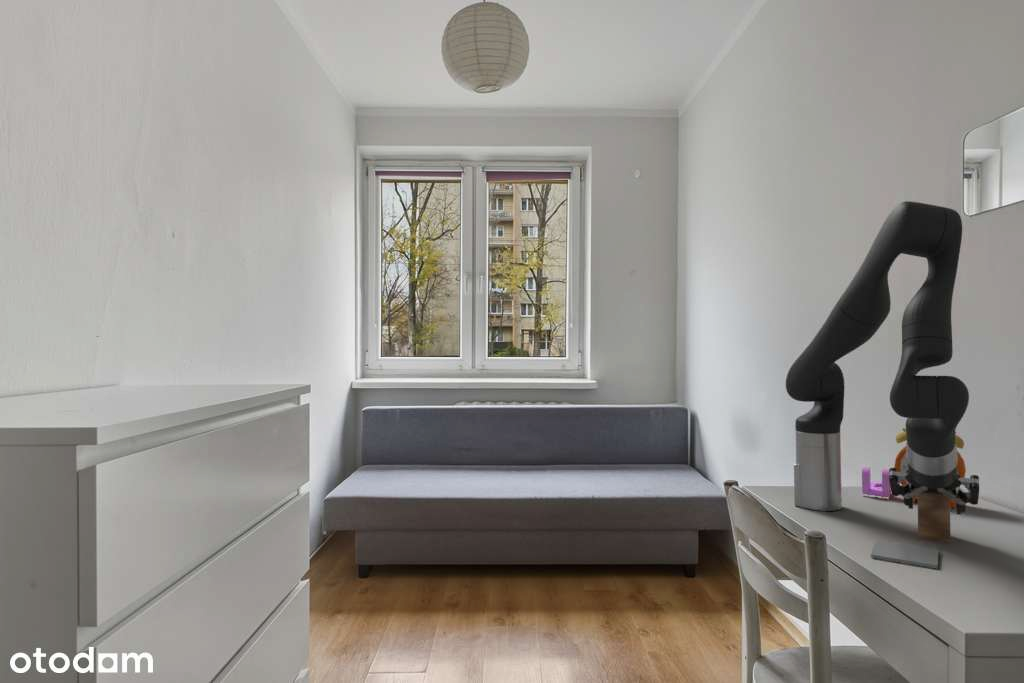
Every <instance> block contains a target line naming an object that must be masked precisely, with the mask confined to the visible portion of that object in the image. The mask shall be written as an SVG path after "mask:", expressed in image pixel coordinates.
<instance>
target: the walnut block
mask: <svg viewBox="0 0 1024 683" xmlns="http://www.w3.org/2000/svg"><path fill="white" fill-rule="evenodd" d="M917 536H918V539H921V540H928V541H930V540H931V541H936V542H943V543H949V544H950V543H951V538H952V537H951V508H950V499H949V498H948V497H946V496H945V495H944V494H936V493H925V492H922V493H920V494H919V495H918V497H917Z"/></svg>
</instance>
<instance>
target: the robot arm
mask: <svg viewBox="0 0 1024 683" xmlns="http://www.w3.org/2000/svg"><path fill="white" fill-rule="evenodd" d="M962 237H963V222H962V217H961V215H960V213H959V212H958V211H956V210H955V209H953V208H949V207H945V206H940V205H935V204H930V203H929V204H928V203H923V202H918V201H909V200H908V201H907V200H906V201H902V202H900V203H899V204H897V205H896V206H895V207H894V208H893V209H892V210H891V211H890V212H889V214H888V215H887V217H886V218H885V220H884V222H883V223H882V226H881V227H880V229H879V231H878V233H877V234H876V237H875V238H874V240H873V242H872V243H871V244H872V245H871V246H870V249H869V251H868V252H867V254H866V256H865V258H864V260H863V262H862V263H861V265H860V267H859V268H858V270H857V272H856V273H855V275H854V276H853V279H852V280H851V281H850V282H849V284H848V286H847V287H846V289H845V290H844V292H843V293H842V295H840V297H839V298H838V300H837V302H836V303H835V304H834V307H833V308H832V310H831V311H830V313H829V314H828V316H827V318H826V320H825V322H824V323H823V324H822V325H821V328H820V329H819V330H818V332H817V333H816V335H815V336H814V338H813V339H812V340H811V342H809V344H808V346H807V347H806V348H805V349H804V350H803V352H802V353H801V354H800V355H799V356H797V359H796V360H795V361H794V362H793V363H792V365H791V366H790V368H789V369H788V372H787V374H786V379H785V390H786V392H787V394H788V395H789V397H790V398H791V399H793V400H795V401H798V402H804V403H806V402H807V403H808V402H810V403H812V402H814V403H813V405H812V408H811V409H810V410H809V411H807V412H806V413H804V414H803V415H799V416H798V417H797V418H796V419H795V424H794V426H795V427H794V428H795V463H794V465H793V478H794V479H793V482H794V483H793V484H794V485H793V486H794V488H793V489H794V491H793V492H794V494H793V495H794V506H795V507H796V506H797V507H801V508H804V509H809V510H813V511H823V512H824V511H825V512H831V511H832V512H833V511H839V510H841V509H842V504H843V503H842V502H843V501H842V500H843V499H842V497H843V496H842V455H841V454H842V453H841V452H842V451H841V450H842V449H841V448H842V447H841V425H842V422H843V419H844V407H845V406H844V405H845V403H844V402H845V378H844V373H843V371H842V369H841V367H840V366H839V365H838V364H837V363H836V362H837V361H838V360H840V359H842V358H843V357H844V356H847V355H849V354H850V353H852V352H854V351H855V350H857V349H858V348H860V347H861V346H863V345H864V344H865V343H867V342H868V341H870V339H871V338H872V337H873V336H874V335H875V334H876V333H877V332H878V331H879V329H880V328H881V326H882V325H883V323H884V322H885V320H886V319H887V317H888V316H889V314H890V311H891V293H890V287H889V271H890V270H891V267H892V266H893V263H894V262H895V261H896V259H897V258H898V256H900V255H906V256H907V255H909V256H913V257H920V258H924V259H925V258H926V261H927V269H928V271H927V276H926V277H925V280H924V282H923V283H922V285H921V286H920V288H919V289H918V290H917V291H916V293H915V294H914V295H913V296H912V298H911V299H910V301H909V302H908V304H907V305H906V307H905V309H904V312H903V314H902V321H901V356H900V360H899V361H900V362H899V366H898V370H897V372H896V375H895V377H894V381H893V384H892V386H891V389H890V392H889V403H890V406H891V409H892V410H893V411H894V413H895V414H896V415H898V416H899V417H902V418H906V420H905V430H906V437H907V440H906V443H905V446H906V459H907V467H908V470H907V471H906V472H897V469H896V468H894V467H890V468H889V469H890V471H889V482H890V487H891V492H892V494H891V496H895V497H898V496H901V497H902V498H903V500H904V501H903V504H904V505H905V506H907V507H908V509H912V510H913V509H914V503H913V496H917V495H919V494H920V493H922V492H925V493H936V494H944V495H945V496H946V497H948V498H949V499H950V500H954V501H955V502H956V508H955V510H956V515H960V516H961V515H962V513H965V512H966V509H967V508H966V504H971V505H973V506H974V505H978V504H979V495H980V476H978V475H976V474H972V475H970V478H969V477H968V478H967V477H964V478H961V477H960V475H958V457H957V451H958V447H956V444H955V432H956V429H957V426H958V425H959V423H960V422H961V420H962V419H963V417H964V415H965V413H966V412H967V408H968V405H969V402H970V401H969V400H970V394H969V392H970V391H969V389H968V386H967V385H966V384H965V383H964V382H963V381H962V380H961V379H960V378H958V377H956V376H953V375H918V373H919V372H920V371H922V370H925V369H930V368H935V367H939V366H942V365H945V364H947V363H949V362H950V361H951V360H952V357H953V353H954V352H953V351H954V350H953V331H952V330H953V327H952V326H953V325H952V324H953V323H952V307H953V306H952V305H953V302H952V301H953V297H954V296H953V294H954V290H955V283H956V279H957V277H956V276H957V272H958V266H959V258H960V252H961V248H962V247H961V246H962ZM903 479H906V481H908V483H906V484H905V485H904V486H902V485H901V483H900V482H901V481H902V480H903ZM960 485H961V486H964V488H965V489H966V490H967V492H965V490H963V489H962V488H961V486H960ZM959 486H960V487H959Z"/></svg>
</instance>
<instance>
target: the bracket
mask: <svg viewBox="0 0 1024 683" xmlns="http://www.w3.org/2000/svg"><path fill="white" fill-rule="evenodd" d="M861 468H862V469H861V488H862V489H861V492H862V493H863V494H867V495H875V496H881V497H890V494H891V487H890V482H889V471H890V468H882V469H881V482H880V481H871V468H870V467H869V466H868V467H867V466H862V467H861ZM875 487H882V488H875ZM862 493H861V494H862ZM891 495H892V494H891ZM890 498H891V497H890Z"/></svg>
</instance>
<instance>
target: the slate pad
mask: <svg viewBox="0 0 1024 683" xmlns="http://www.w3.org/2000/svg"><path fill="white" fill-rule="evenodd" d="M871 557H874V558H878V559H877V560H880V559H884V560H883V561H886V560H890V561H889V562H892V561H895V562H894V563H898V562H901V563H900V564H904V563H908V564H907V565H910V564H916V565H921V566H920V567H922V566H925V567H924V568H928V567H931V568H930V569H934V568H936V569H935V570H938V568H937V567H938V566H939V565H938V564H939V549H937V548H932V547H926V546H919V545H913V544H908V543H907V544H906V543H901V542H893V541H887V540H880V539H876V540H875V542H874V545H873V548H872V550H871V553H870V558H871ZM874 558H873V559H874ZM902 562H903V563H902ZM916 565H915V566H916Z"/></svg>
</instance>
